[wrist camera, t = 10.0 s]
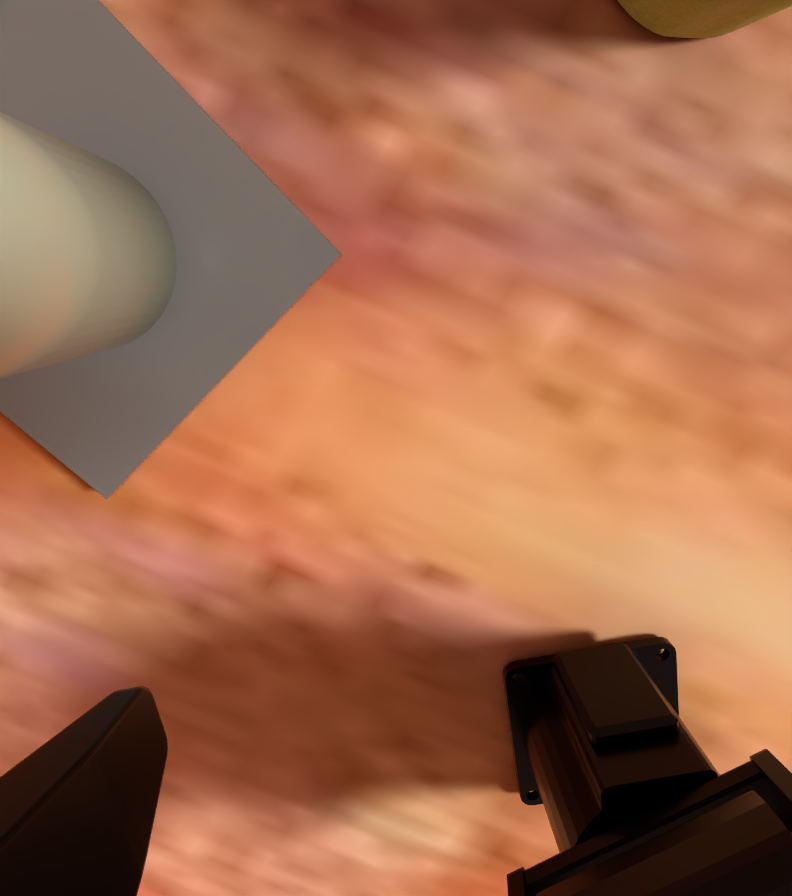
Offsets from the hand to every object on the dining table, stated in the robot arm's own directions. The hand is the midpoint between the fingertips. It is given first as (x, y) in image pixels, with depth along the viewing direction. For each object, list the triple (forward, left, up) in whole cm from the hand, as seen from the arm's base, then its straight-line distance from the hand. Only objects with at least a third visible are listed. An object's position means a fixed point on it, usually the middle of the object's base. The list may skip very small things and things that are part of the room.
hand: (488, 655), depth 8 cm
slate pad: (+7, +9, -13) cm, 17 cm away
